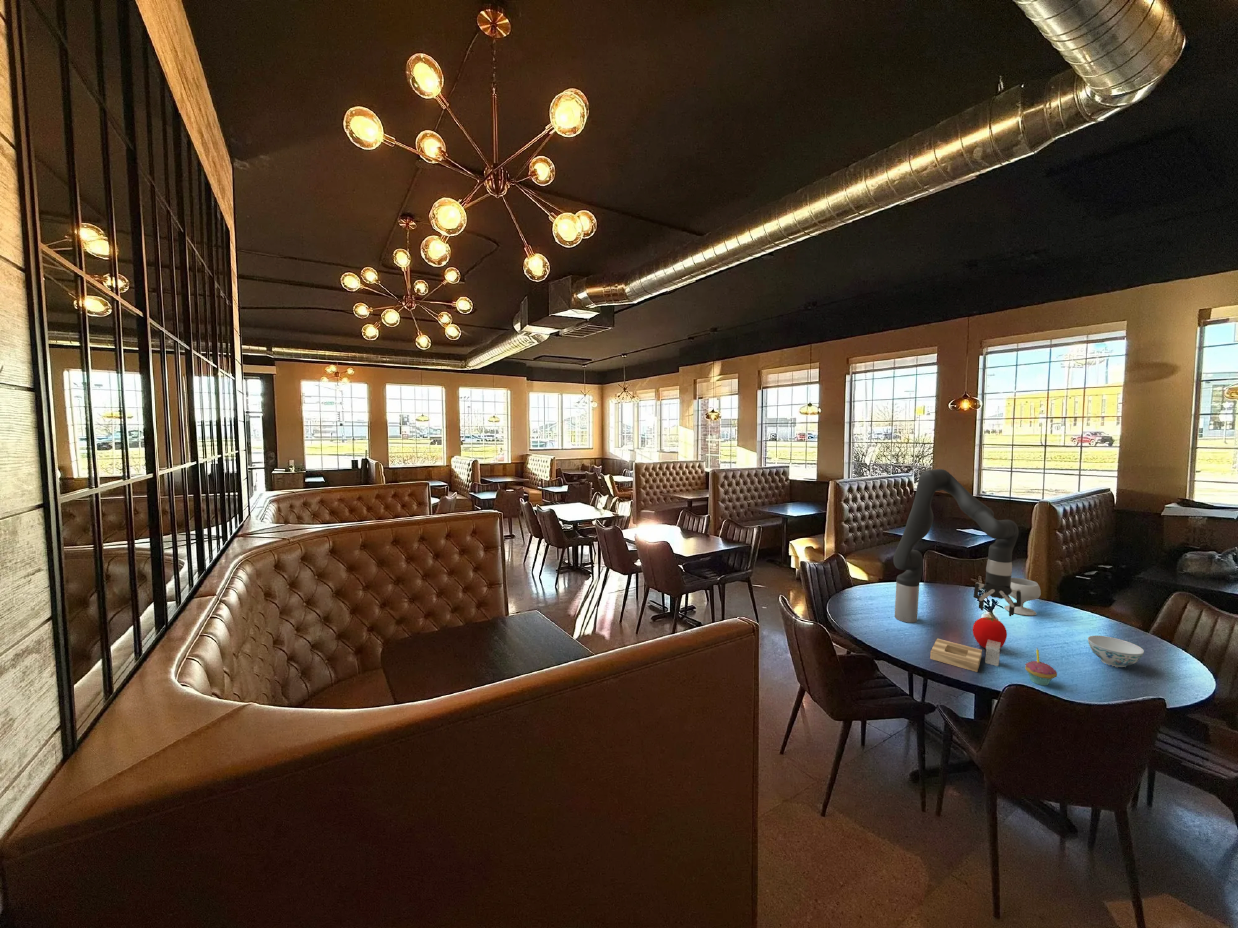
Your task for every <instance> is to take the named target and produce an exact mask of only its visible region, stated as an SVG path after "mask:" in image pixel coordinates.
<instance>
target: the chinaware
mask: <svg viewBox="0 0 1238 928" xmlns="http://www.w3.org/2000/svg"><path fill="white" fill-rule="evenodd" d="M1087 642H1088V645H1089V649H1090V650H1091V651H1092V652H1093V654H1094V655H1095V656H1097V657H1098V658H1099V659H1100V661H1101V662H1102V663H1103V664H1105V663H1106V664H1105V665H1107V664H1108V666H1110V665H1112V666H1111V667H1113V666H1115V667H1114V668H1118V667H1125V668H1126V667H1127V666H1131V665H1133V664H1135V663H1137V662H1139V661H1140V660H1141V659H1142V657H1143V655H1144V653H1145V652H1144V649H1143V648H1142V647H1140V646H1139V645H1137V644H1134V643H1133V642H1130V641H1126V640H1124V639H1120V638H1117V637H1116V638H1115V637H1112V636H1111V637H1110V636H1106V635H1105V636H1104V635H1090V636H1088V637H1087Z"/></svg>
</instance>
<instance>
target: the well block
mask: <svg viewBox="0 0 1238 928" xmlns="http://www.w3.org/2000/svg"><path fill="white" fill-rule="evenodd" d="M982 652H983V649H979V648H976V647H972V646H969V645H964V644H960V643H956V642H952V641H949V640H944V639H941V638H937V639H936V640H935V642H934V644H933V646H932V648H931V649H930V656H929V657H930V660H933V661H938V662H939V663H942V664H943V663H944V664H948V665H951V666H954V667H958V668H962V669H965V670H968V671H972V672H975V673H978V671H979V667H980V664H981V661H982V656H983V654H982Z"/></svg>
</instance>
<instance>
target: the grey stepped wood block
mask: <svg viewBox="0 0 1238 928" xmlns="http://www.w3.org/2000/svg"><path fill="white" fill-rule="evenodd" d="M1000 645H1001V643H1000V642H996V641H992V640H988V641H987V644H986V648H985V659H984V663H985V664H986V665H987V664H988V665H991V666H995V667H999V663H1000V654H1001V653H1000V652H1001V648H1000Z"/></svg>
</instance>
